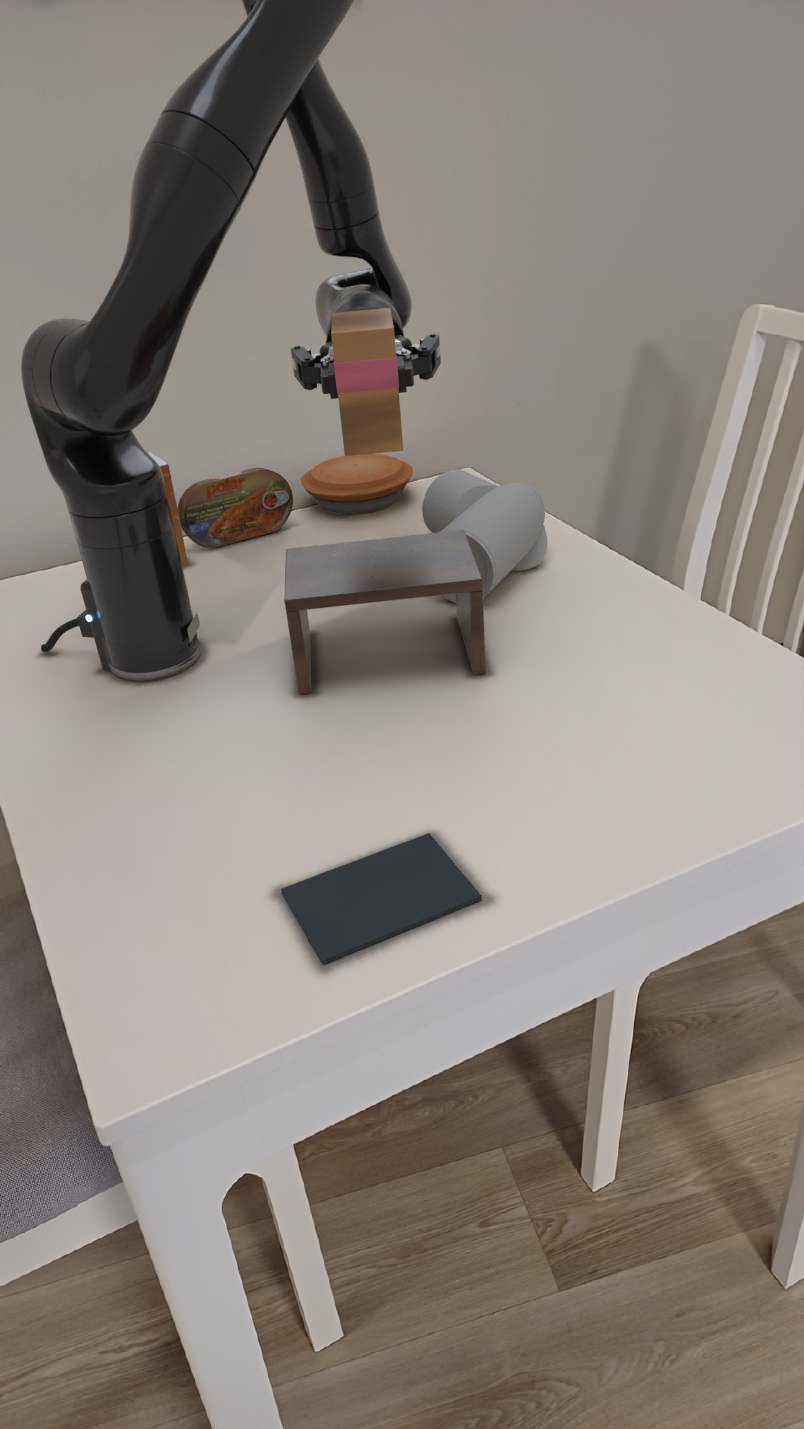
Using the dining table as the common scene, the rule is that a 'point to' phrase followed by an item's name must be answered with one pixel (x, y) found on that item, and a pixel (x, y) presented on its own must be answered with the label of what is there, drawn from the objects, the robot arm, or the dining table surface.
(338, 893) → the mat
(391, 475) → the pie
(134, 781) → the dining table surface
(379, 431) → the block
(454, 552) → the shelf
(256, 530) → the tin
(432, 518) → the bent grey cylinder
